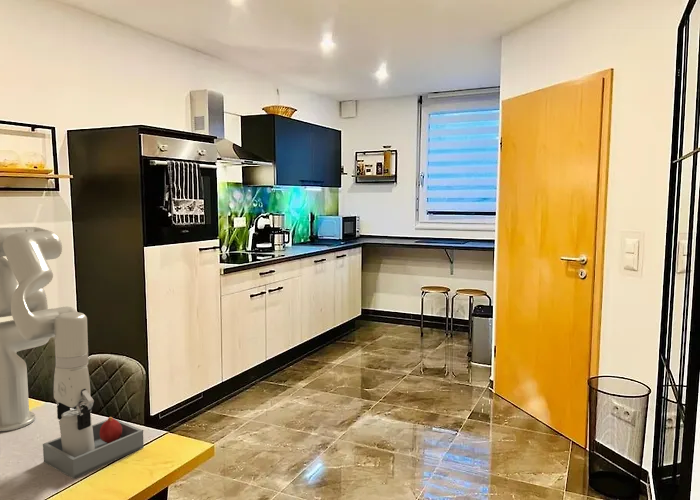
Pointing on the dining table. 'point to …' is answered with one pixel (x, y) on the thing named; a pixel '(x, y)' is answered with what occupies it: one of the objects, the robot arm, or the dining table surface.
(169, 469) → the dining table surface
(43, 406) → the dining table surface
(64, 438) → the can
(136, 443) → the tote
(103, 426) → the onion
